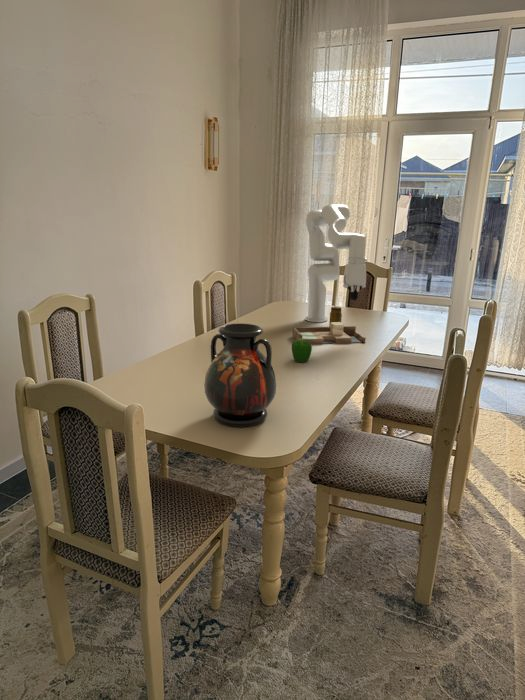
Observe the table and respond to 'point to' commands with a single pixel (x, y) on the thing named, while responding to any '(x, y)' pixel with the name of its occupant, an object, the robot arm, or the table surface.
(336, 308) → the condiment
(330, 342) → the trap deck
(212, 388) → the amphora vase
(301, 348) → the bell pepper
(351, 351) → the table surface
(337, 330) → the birch block
